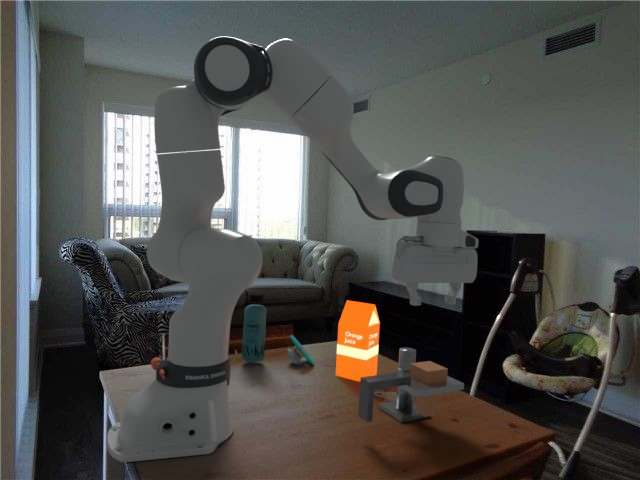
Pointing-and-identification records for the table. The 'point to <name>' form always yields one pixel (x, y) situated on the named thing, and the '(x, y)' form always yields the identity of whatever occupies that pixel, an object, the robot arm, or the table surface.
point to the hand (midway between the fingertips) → (433, 304)
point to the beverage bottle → (254, 330)
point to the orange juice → (357, 341)
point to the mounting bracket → (387, 395)
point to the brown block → (427, 374)
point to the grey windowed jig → (400, 390)
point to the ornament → (298, 353)
